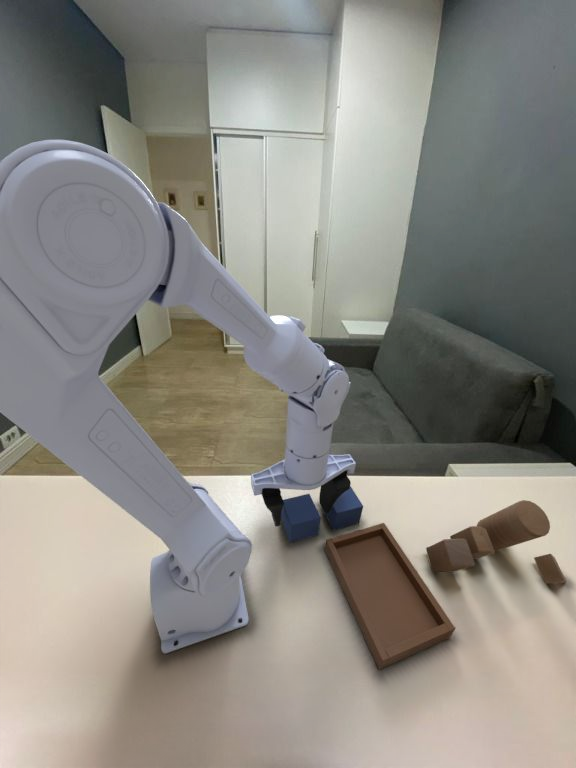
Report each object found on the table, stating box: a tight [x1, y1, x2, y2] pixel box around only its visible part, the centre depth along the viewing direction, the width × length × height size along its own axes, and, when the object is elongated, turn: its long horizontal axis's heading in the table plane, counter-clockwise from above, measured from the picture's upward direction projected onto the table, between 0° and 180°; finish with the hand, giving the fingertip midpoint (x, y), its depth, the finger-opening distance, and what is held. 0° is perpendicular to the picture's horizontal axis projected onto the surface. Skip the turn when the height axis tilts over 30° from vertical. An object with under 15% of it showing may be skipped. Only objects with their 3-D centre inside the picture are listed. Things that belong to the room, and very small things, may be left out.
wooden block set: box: [425, 499, 567, 584], centre depth 41 cm, size 18×9×10 cm, turn 93°
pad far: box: [324, 485, 364, 531], centre depth 48 cm, size 4×4×4 cm
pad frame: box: [323, 522, 456, 670], centre depth 39 cm, size 10×14×2 cm
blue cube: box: [281, 493, 322, 544], centre depth 46 cm, size 4×4×4 cm
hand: (300, 513), depth 46 cm, fingers open, 7 cm apart
